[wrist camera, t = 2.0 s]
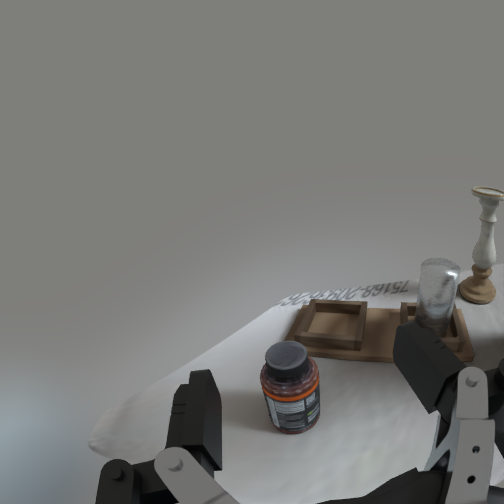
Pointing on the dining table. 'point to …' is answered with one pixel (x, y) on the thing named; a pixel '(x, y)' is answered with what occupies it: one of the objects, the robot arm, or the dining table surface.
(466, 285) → the candle holder
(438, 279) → the can
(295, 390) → the supplement bottle
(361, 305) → the wooden divided tray
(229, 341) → the dining table surface
